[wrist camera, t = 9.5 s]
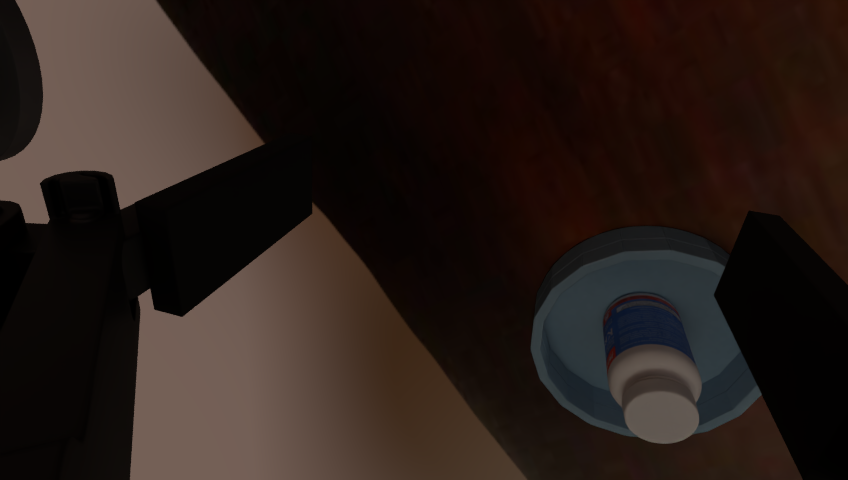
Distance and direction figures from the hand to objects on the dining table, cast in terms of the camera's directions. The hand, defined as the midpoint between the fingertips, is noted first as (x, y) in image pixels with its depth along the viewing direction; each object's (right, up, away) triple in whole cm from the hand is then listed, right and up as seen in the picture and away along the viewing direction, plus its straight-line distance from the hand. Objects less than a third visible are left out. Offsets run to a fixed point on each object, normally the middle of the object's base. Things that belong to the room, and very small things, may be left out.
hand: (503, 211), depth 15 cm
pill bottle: (+14, -7, +22) cm, 27 cm away
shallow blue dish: (+14, -7, +22) cm, 27 cm away
